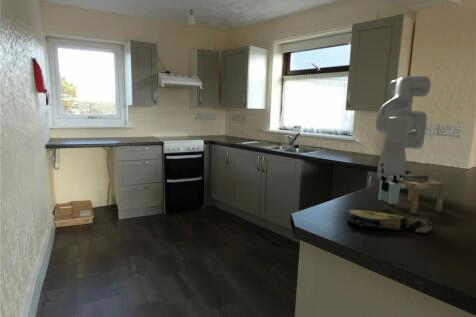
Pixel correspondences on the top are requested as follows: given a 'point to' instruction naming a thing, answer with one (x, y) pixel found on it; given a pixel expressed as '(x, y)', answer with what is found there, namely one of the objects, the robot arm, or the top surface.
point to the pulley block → (388, 220)
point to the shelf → (415, 189)
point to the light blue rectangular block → (390, 193)
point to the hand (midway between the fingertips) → (389, 190)
